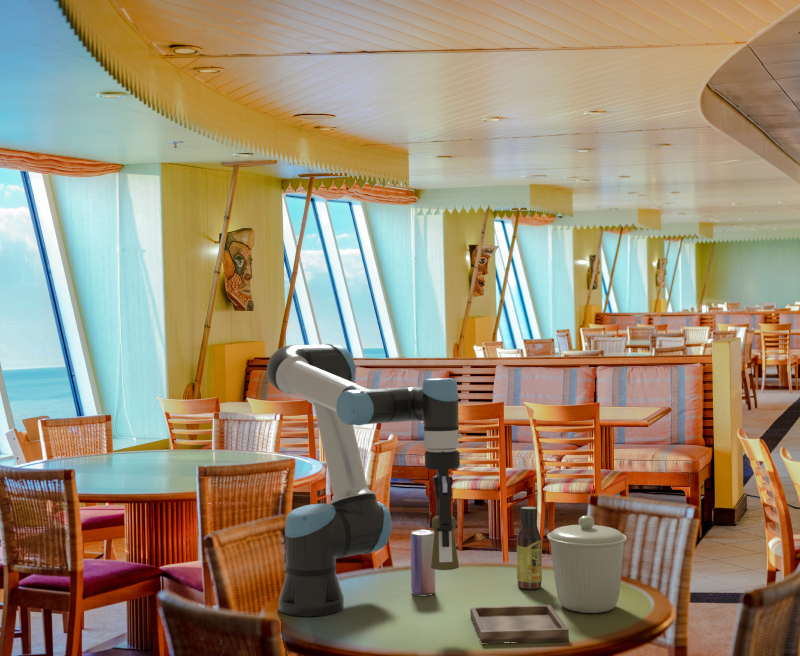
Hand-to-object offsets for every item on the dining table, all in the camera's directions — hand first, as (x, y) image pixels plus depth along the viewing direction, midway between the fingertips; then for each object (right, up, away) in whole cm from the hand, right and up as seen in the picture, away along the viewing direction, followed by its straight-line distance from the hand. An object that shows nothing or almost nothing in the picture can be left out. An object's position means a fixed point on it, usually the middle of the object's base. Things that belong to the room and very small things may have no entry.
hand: (444, 558), depth 197 cm
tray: (+15, -15, -1) cm, 22 cm away
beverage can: (-4, -16, +29) cm, 34 cm away
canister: (+34, -15, +15) cm, 40 cm away
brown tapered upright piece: (0, -2, 0) cm, 2 cm away
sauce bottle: (+23, -16, +34) cm, 44 cm away
